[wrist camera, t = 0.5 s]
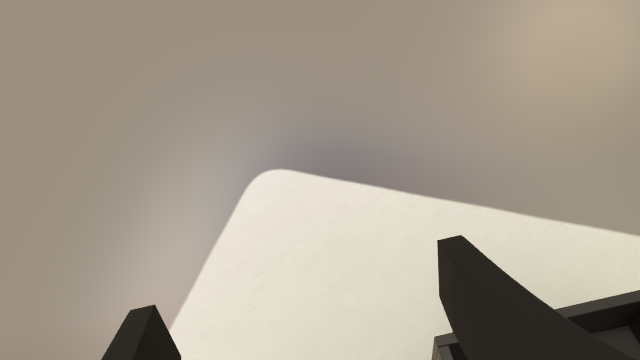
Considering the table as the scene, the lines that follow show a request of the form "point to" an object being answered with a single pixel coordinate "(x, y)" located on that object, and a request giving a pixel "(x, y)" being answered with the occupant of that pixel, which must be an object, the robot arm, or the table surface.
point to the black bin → (581, 325)
